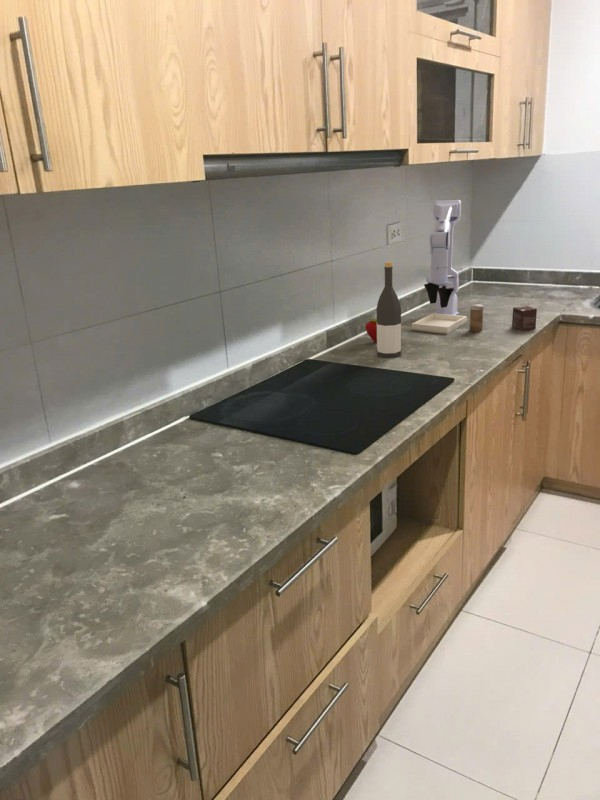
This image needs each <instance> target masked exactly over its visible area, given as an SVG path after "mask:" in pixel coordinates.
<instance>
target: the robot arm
mask: <svg viewBox="0 0 600 800" xmlns="http://www.w3.org/2000/svg"><path fill="white" fill-rule="evenodd" d="M432 213H433V217H434V221H435V223H434V226H433V231H432V233H431V234H430V236H429V249H430V275H429V276H426V277H425V278H426V279H425V282H426V283H424V284H423V287H424V288H425V291H426V293H427V296H428V301H429V303H430V304H435V313H437V314H448V315H459V314H460V312H459V311H458V295H457V293H458V291H459V288H460V287H459V286H460V285H459V284H460V278H459V275H460V274H459V272H458V271H457V270H455V269H454V267H453V265H452V264H453V249H454V248H453V246H454V229H455V226H456V224H458V223H460V221H461V217H462V216H461V214H462V201H461V200H460V199H456V200H455V199H454V200H452V199H451V200H449V199H448V200H438V199H436V200H434V202H433V207H432Z"/></svg>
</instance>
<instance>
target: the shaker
mask: <svg viewBox="0 0 600 800" xmlns="http://www.w3.org/2000/svg"><path fill="white" fill-rule="evenodd" d="M469 308H470V311H469V331H470V332H472V333H479V332H482V331H483V319H484V305H483V304H477V303H476V304H471V305H469Z"/></svg>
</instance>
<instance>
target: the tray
mask: <svg viewBox="0 0 600 800" xmlns="http://www.w3.org/2000/svg"><path fill="white" fill-rule="evenodd" d="M467 323H468V316H466V315H459V314H457V315H448V314H437V313H436V312H432V313H430V314H428V315H426V316H424V317H422V318H419V319H418V320H417V321H414V322H412V323H411V331H418V332H425V333H432V334H433V333H434V334H442V335H443V334H444V335H448V334H450V333H452V332H453V331H455V330H457V329H459V328H461V327H463V326H464V325H466V324H467Z"/></svg>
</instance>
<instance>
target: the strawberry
mask: <svg viewBox="0 0 600 800" xmlns="http://www.w3.org/2000/svg"><path fill="white" fill-rule="evenodd" d="M368 320H369V321H368V322H367V323H365V326H364V327H365V331H366V333H367V334H368V336H369V338H370V339H371V340H372V342H373V343H376V344H377V318H376V319H375V318H371V319H368Z"/></svg>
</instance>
